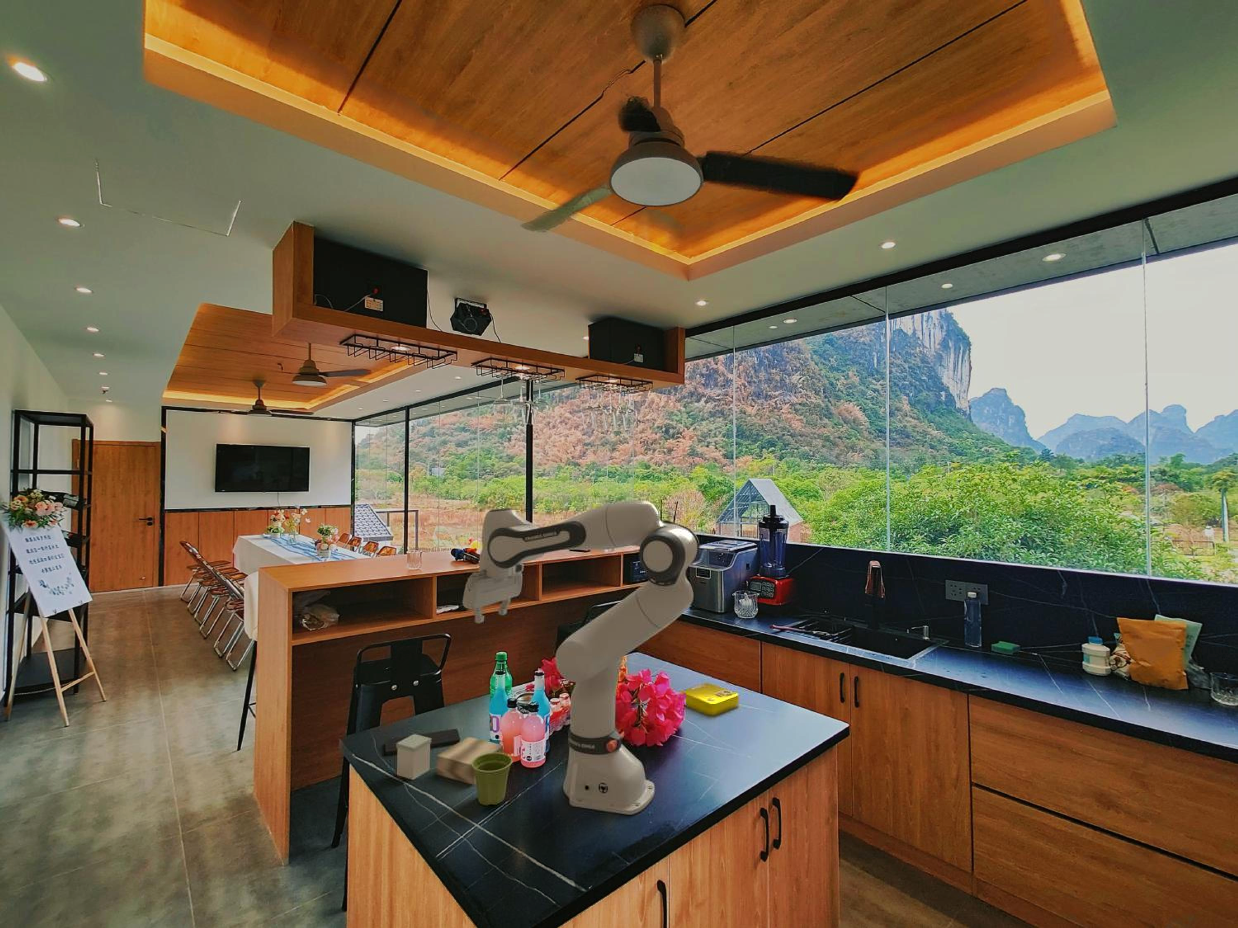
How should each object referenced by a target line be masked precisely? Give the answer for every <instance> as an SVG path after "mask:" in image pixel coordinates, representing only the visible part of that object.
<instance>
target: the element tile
mask: <svg viewBox="0 0 1238 928" xmlns="http://www.w3.org/2000/svg"><path fill="white" fill-rule="evenodd" d="M681 693H686V706H685V707H687V708H689V707H690V709H692V710H694V711H697V712H699V713H702V714H704V715H706V716H709V717H713V716H718V715H720V714H723V713H726V712H728V711H731V710H734V709H737V708H738V707H739V693H737V692H735V691H732V690H729V689H728V688H724V687H721V686H719V685H715V684H713V683H710V682H705V683H702V684H699V685H696V686H693V687H689V688H687V689H684V690H682V691H681V692H680V694H681Z"/></svg>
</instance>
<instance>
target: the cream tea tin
mask: <svg viewBox="0 0 1238 928" xmlns="http://www.w3.org/2000/svg"><path fill="white" fill-rule="evenodd" d="M408 736H409V737H408V738H406V739H404V740H402V741H400V742H398V743H396V747H397V748H398V752H397V754H396V755H397V759H396V764H397V765H396V775H397V776H399V777H403V778H407V779H409V780H415V779H417V778H419V777H420V776H422V775H423V774H425V773H427V772H428V771H430V770H431V769H430V768H431V767H430V766H431V765H430V764H431V760H430V759H431V749H430V743H431V738H428V737H424V736H420V735H419V734H415V733H413V734H412V735H408Z"/></svg>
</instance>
